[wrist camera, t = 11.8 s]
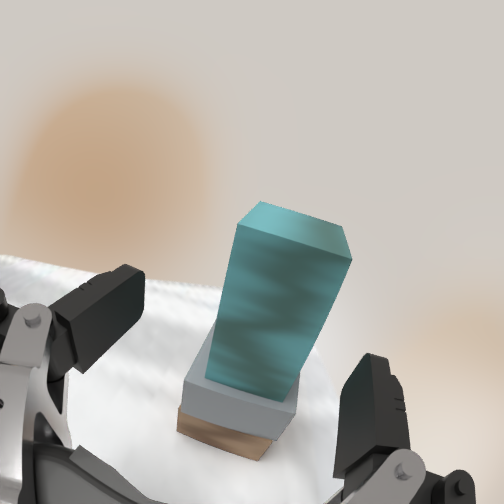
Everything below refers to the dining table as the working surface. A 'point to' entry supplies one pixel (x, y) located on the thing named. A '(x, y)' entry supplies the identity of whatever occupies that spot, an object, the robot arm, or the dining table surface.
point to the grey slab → (234, 402)
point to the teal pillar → (275, 299)
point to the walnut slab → (222, 437)
